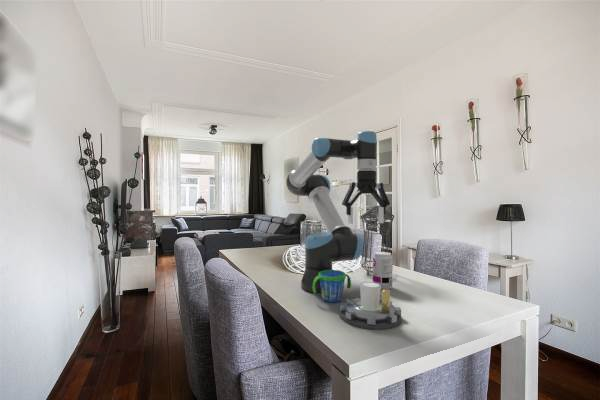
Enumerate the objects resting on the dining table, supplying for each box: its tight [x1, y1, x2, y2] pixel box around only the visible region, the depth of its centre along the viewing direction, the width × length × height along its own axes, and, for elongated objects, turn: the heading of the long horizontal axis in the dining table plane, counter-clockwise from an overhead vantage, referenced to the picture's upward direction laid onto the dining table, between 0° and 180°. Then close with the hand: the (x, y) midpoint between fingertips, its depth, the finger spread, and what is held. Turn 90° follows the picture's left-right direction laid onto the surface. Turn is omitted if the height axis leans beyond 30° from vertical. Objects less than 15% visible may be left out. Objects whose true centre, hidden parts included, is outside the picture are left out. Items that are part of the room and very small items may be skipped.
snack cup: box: [312, 269, 352, 303], centre depth 114 cm, size 16×10×10 cm
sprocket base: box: [338, 310, 403, 331], centre depth 99 cm, size 20×20×1 cm
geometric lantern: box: [359, 205, 395, 276], centre depth 151 cm, size 16×16×35 cm
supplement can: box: [372, 251, 394, 291], centre depth 130 cm, size 8×8×15 cm
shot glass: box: [359, 281, 382, 309], centre depth 99 cm, size 7×7×7 cm
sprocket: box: [339, 289, 402, 325], centre depth 99 cm, size 20×20×9 cm
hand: (365, 223), depth 121 cm, fingers open, 13 cm apart
